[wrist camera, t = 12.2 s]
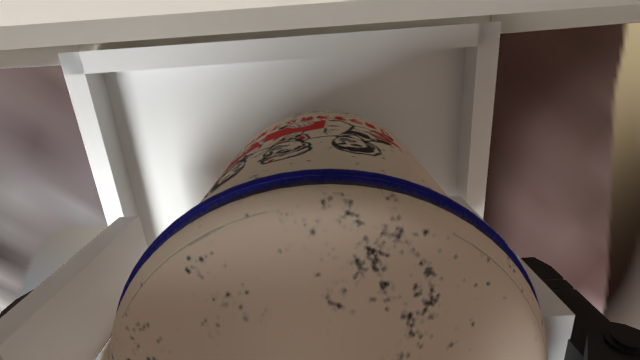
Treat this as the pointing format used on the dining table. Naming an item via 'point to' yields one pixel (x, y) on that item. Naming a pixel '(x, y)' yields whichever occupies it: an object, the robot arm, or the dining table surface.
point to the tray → (277, 107)
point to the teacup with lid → (327, 262)
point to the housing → (263, 21)
